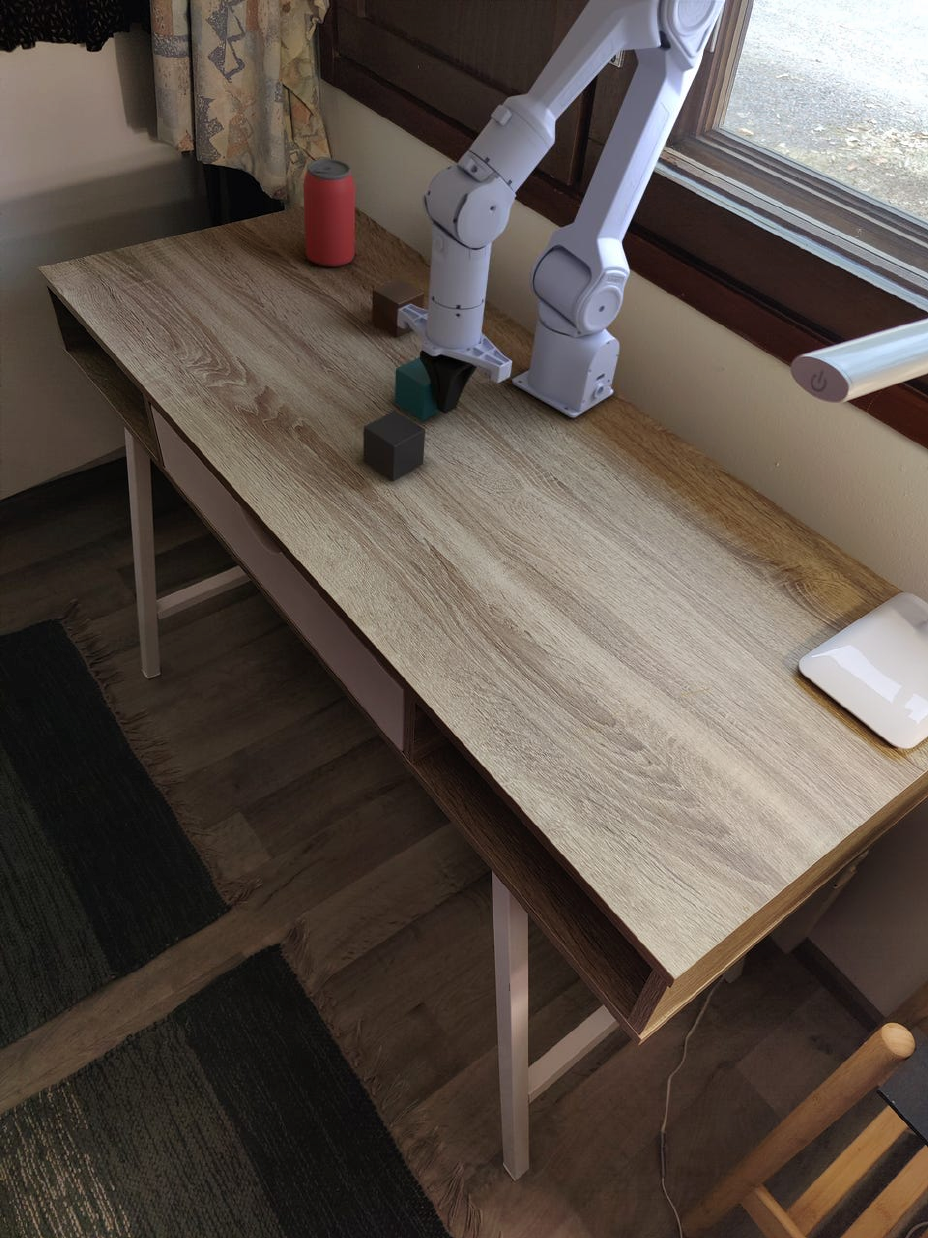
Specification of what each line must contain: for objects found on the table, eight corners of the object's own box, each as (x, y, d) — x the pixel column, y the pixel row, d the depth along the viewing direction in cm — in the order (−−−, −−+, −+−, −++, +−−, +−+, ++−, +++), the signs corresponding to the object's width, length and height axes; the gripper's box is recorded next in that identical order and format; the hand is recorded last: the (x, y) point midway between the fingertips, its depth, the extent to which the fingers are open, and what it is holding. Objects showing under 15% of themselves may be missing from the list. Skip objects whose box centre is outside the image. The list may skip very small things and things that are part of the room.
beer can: (296, 252, 130) (293, 161, 121) (338, 242, 133) (337, 153, 124) (321, 273, 127) (319, 181, 118) (363, 262, 130) (365, 172, 121)
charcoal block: (423, 464, 101) (425, 429, 98) (392, 482, 99) (394, 446, 95) (393, 444, 103) (394, 409, 100) (362, 461, 100) (363, 426, 97)
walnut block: (422, 325, 120) (424, 292, 117) (396, 337, 118) (398, 303, 114) (397, 311, 122) (398, 277, 119) (371, 322, 120) (372, 289, 116)
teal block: (450, 405, 109) (453, 371, 105) (422, 420, 106) (425, 386, 103) (421, 388, 111) (424, 354, 107) (394, 403, 108) (395, 368, 105)
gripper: (378, 278, 97) (375, 392, 107) (484, 338, 91) (471, 453, 101) (426, 258, 101) (419, 370, 111) (531, 314, 95) (513, 427, 105)
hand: (446, 408), depth 106 cm, fingers closed
